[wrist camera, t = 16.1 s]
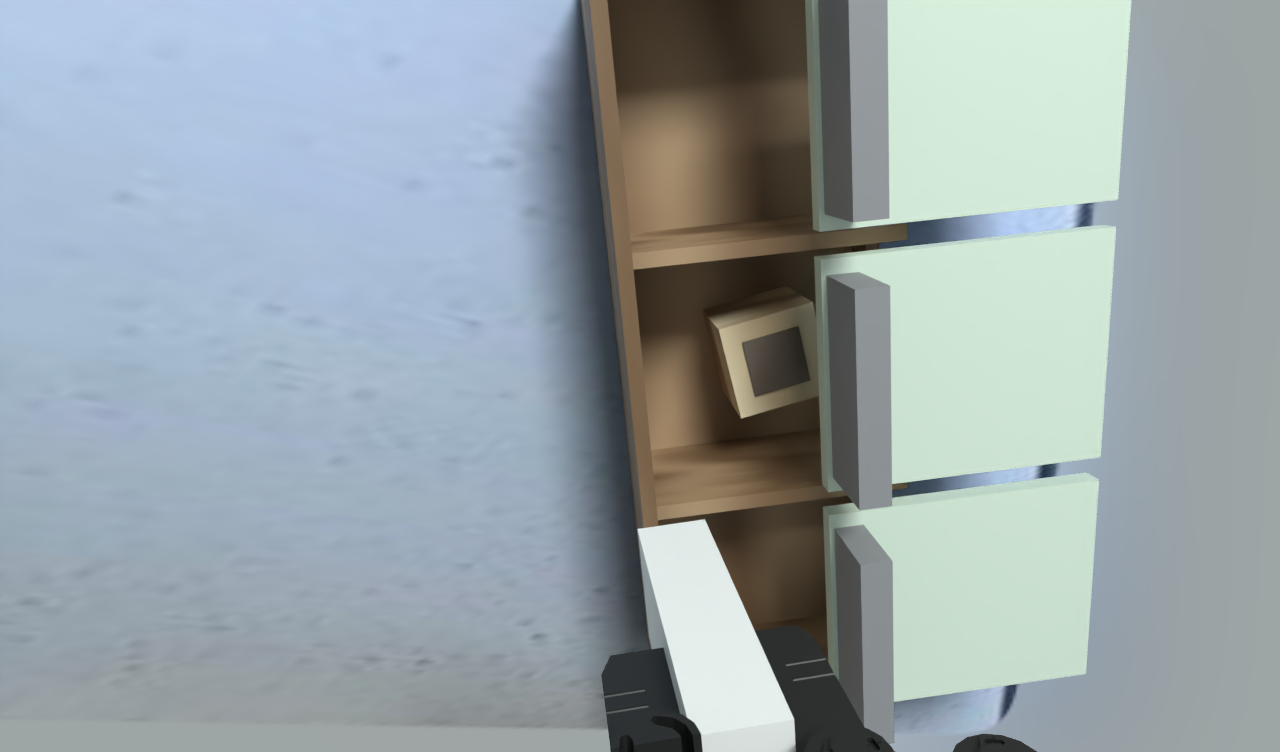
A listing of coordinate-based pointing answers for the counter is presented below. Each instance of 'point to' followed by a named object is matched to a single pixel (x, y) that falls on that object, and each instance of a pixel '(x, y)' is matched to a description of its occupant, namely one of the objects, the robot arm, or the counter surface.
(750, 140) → the box
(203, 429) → the counter surface
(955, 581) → the lid
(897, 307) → the lid
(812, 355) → the letter cube
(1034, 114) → the lid
